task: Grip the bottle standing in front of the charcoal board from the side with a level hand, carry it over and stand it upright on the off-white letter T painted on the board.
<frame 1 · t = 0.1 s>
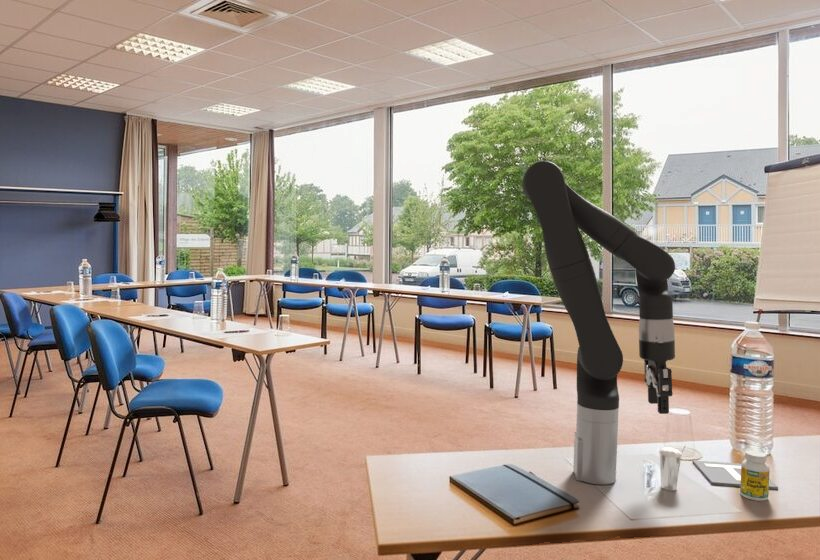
hand: (658, 408, 136), 17 cm above the table, tool pointing down, fingers open, 8 cm apart
letter board: (732, 475, 142), on the table
milkshake: (670, 489, 134), on the table
supplement bottle: (753, 497, 130), on the table
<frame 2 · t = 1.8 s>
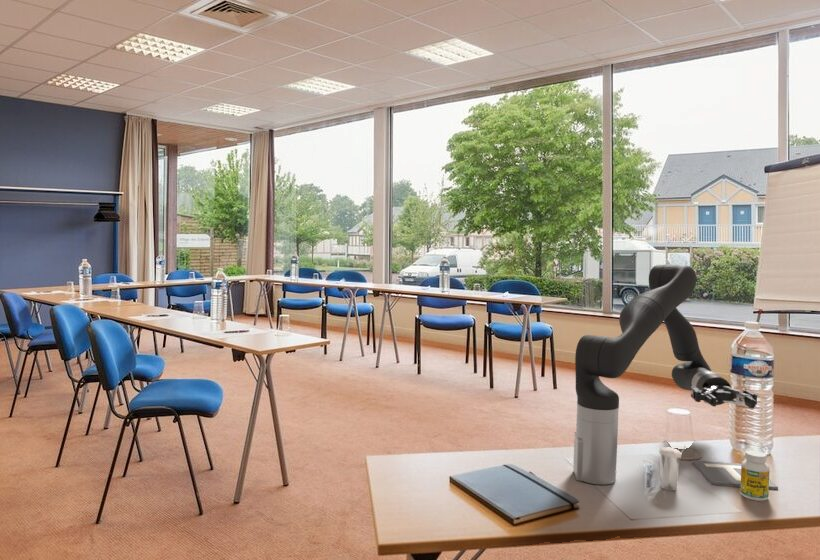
hand: (733, 403, 143), 17 cm above the table, tool horizontal, fingers open, 8 cm apart
nothing on the table moved.
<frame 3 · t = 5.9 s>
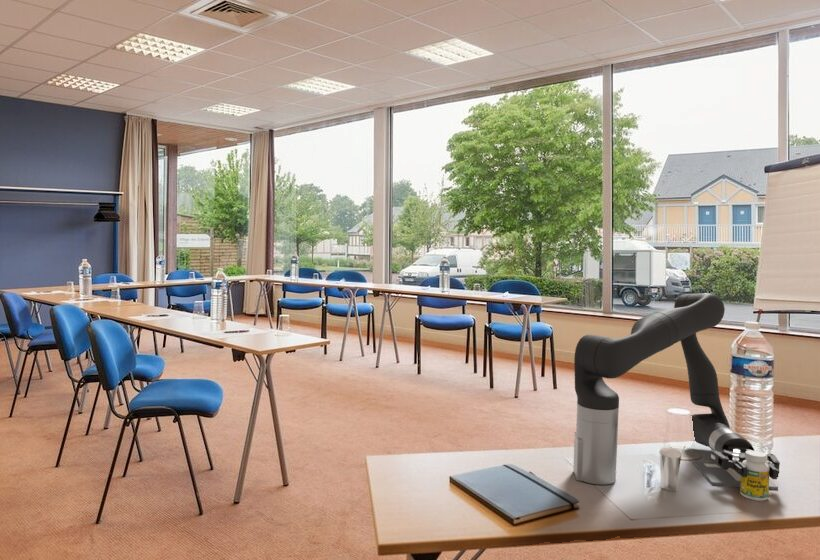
hand: (760, 473, 127), 6 cm above the table, tool horizontal, fingers closed on supplement bottle, 5 cm apart
supplement bottle: (753, 497, 130), on the table, touching gripper
everything else where it was.
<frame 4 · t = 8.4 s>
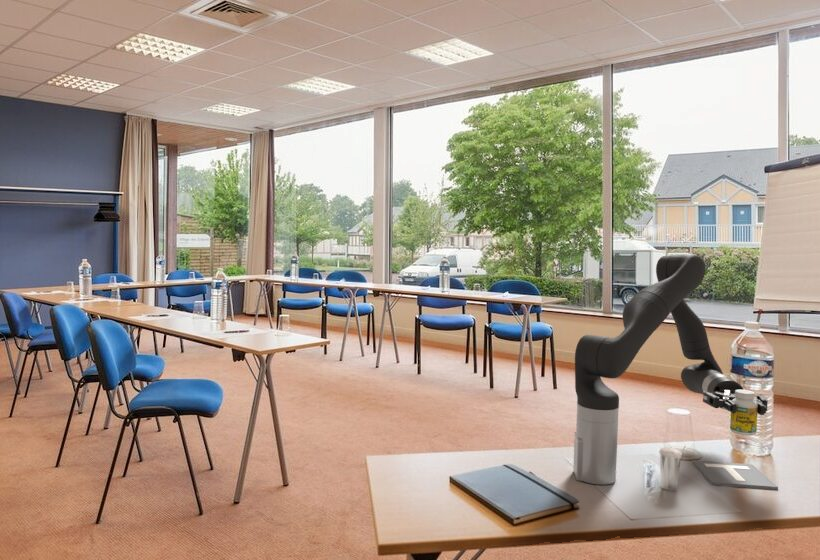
hand: (748, 409, 135), 18 cm above the table, tool horizontal, fingers closed on supplement bottle, 5 cm apart
supplement bottle: (742, 433, 137), point 12 cm above the table, touching gripper
everything else where it was.
when the fingers open (8 cm above the table, at t = 11.1 s): supplement bottle stays where it is, resting on letter board.
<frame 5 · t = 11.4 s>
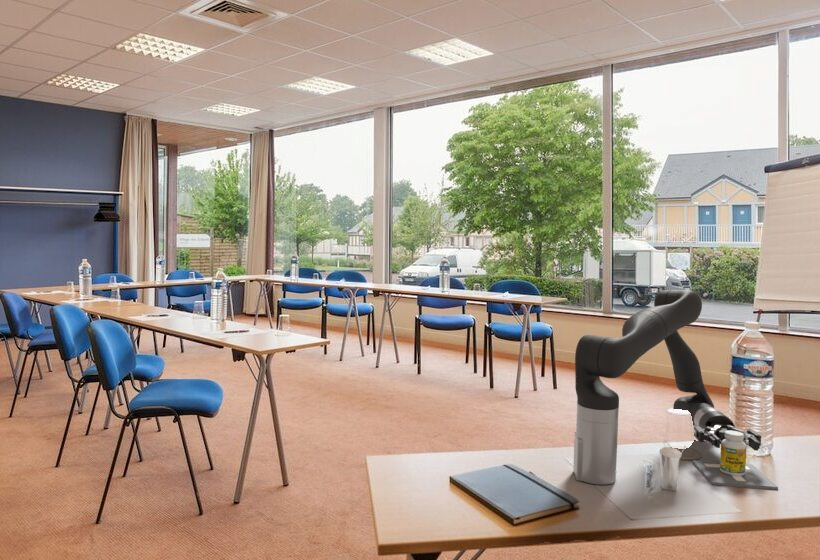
hand: (737, 445, 140), 8 cm above the table, tool horizontal, fingers open, 8 cm apart
supplement bottle: (732, 473, 142), point 1 cm above the table, touching letter board
everything else where it was.
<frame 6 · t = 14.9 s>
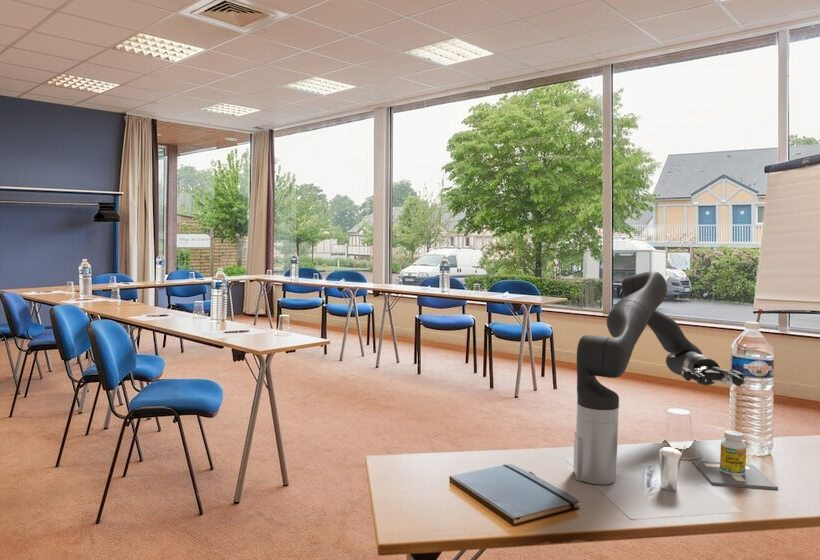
hand: (721, 381, 151), 20 cm above the table, tool horizontal, fingers open, 8 cm apart
nothing on the table moved.
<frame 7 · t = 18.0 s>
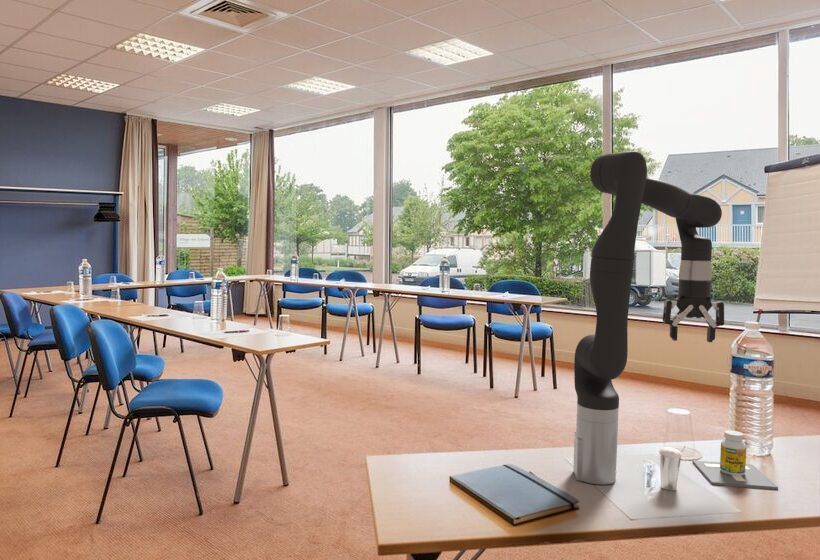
hand: (692, 341, 153), 30 cm above the table, tool pointing down, fingers open, 8 cm apart
nothing on the table moved.
at the end: supplement bottle inside the target area on the letter board (0.2 cm from its centre), point 0.5 cm above the letter board's base; supplement bottle tilted 0°; the gripper is holding nothing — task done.
